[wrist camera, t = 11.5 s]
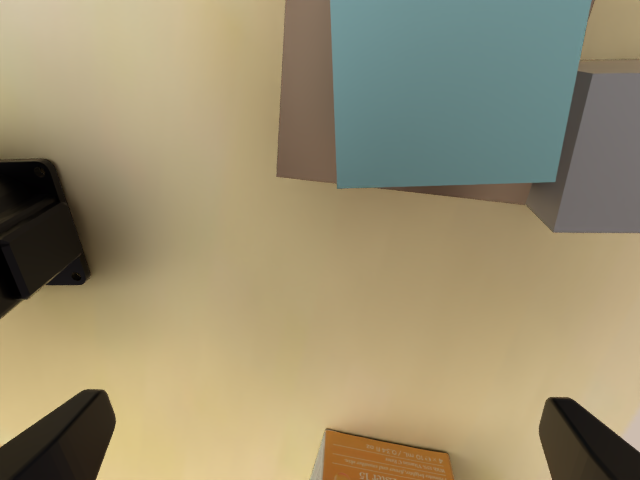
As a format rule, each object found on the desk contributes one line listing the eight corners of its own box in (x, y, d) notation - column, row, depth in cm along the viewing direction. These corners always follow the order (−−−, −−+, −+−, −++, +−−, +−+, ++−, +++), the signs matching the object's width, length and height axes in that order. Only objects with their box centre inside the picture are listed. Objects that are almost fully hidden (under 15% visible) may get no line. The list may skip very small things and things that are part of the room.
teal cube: (340, 139, 15) (337, 188, 10) (335, -32, 12) (327, -67, 8) (490, 133, 14) (554, 182, 10) (512, -45, 12) (609, -88, 8)
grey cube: (504, 183, 19) (553, 232, 14) (526, 60, 16) (593, 73, 12) (622, 183, 18) (709, 233, 14) (661, 58, 16) (780, 70, 12)
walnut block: (290, 148, 19) (276, 176, 15) (306, -105, 15) (293, -147, 11) (491, 171, 19) (525, 204, 15) (563, -78, 15) (632, -111, 11)
